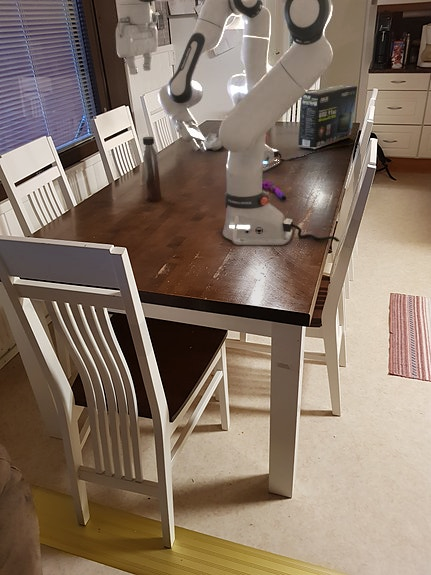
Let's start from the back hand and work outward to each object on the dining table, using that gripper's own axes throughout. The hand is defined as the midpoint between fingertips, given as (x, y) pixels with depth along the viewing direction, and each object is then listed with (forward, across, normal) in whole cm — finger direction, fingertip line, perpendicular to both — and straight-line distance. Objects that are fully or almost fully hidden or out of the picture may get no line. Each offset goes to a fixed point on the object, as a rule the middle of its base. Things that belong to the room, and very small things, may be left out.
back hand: (201, 150), depth 193 cm
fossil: (-11, +54, +6) cm, 56 cm away
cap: (-8, -29, +8) cm, 31 cm away
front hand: (-14, -60, -10) cm, 62 cm away
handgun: (+31, -7, -16) cm, 36 cm away
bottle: (+9, -21, +22) cm, 32 cm away
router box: (+20, +70, -44) cm, 85 cm away
